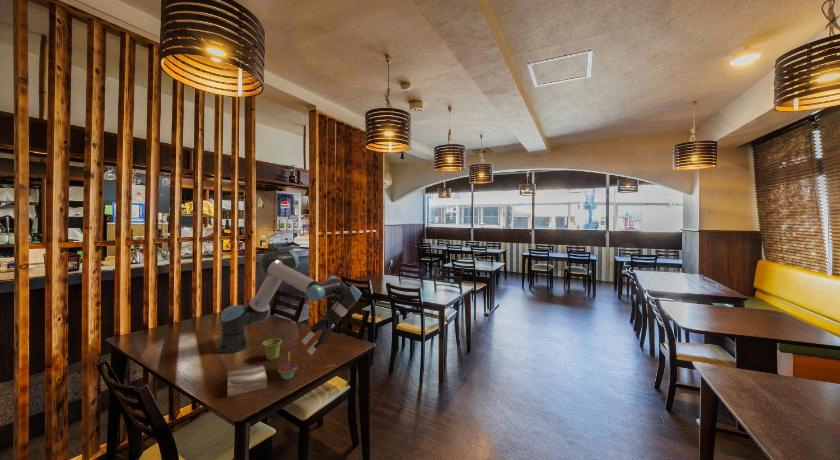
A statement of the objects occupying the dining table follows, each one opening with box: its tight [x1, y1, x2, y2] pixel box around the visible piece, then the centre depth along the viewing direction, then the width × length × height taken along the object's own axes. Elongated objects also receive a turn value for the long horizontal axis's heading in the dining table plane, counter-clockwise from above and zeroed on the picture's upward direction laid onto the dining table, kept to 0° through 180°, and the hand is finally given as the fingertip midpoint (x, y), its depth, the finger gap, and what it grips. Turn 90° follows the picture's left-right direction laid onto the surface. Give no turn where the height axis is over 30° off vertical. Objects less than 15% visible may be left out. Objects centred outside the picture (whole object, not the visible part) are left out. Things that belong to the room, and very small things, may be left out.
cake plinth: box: [227, 364, 268, 398], centre depth 144 cm, size 15×15×5 cm
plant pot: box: [262, 338, 283, 361], centre depth 171 cm, size 9×9×9 cm
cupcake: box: [277, 350, 298, 380], centre depth 151 cm, size 9×8×12 cm
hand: (306, 347), depth 154 cm, fingers open, 13 cm apart
